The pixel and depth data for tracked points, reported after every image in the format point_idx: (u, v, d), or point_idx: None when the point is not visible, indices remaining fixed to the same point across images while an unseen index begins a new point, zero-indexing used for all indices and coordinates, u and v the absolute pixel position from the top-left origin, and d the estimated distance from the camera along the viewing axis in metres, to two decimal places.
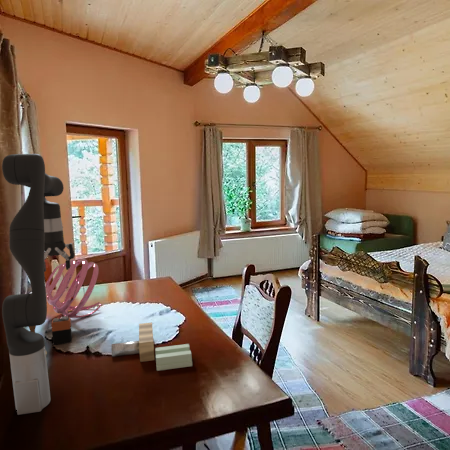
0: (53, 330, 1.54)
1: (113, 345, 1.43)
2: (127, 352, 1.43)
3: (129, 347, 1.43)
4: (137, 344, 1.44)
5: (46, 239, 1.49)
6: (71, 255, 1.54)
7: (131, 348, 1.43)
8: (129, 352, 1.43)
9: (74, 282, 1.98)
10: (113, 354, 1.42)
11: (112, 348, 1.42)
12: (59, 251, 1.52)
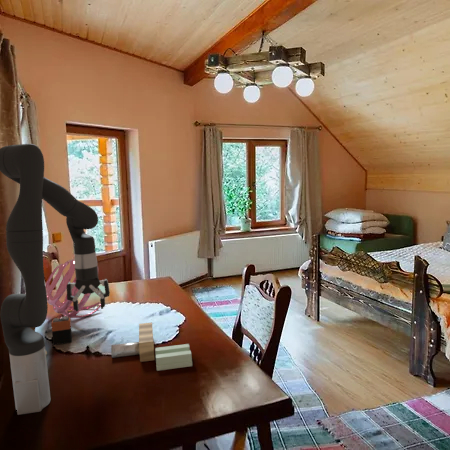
0: (53, 330, 1.54)
1: (113, 348, 1.41)
2: (127, 355, 1.43)
3: (129, 351, 1.42)
4: (137, 347, 1.43)
5: (80, 276, 1.35)
6: (106, 293, 1.40)
7: (131, 352, 1.42)
8: (129, 354, 1.43)
9: (74, 282, 1.98)
10: (113, 356, 1.42)
11: (112, 352, 1.41)
12: (94, 288, 1.38)
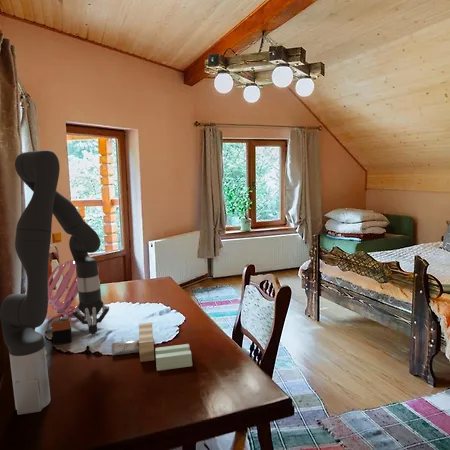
0: (53, 330, 1.54)
1: (113, 343, 1.45)
2: (127, 349, 1.44)
3: (129, 344, 1.44)
4: (137, 341, 1.45)
5: (83, 299, 1.36)
6: (98, 319, 1.40)
7: (131, 345, 1.44)
8: (129, 349, 1.44)
9: (74, 282, 1.98)
10: (113, 351, 1.43)
11: (112, 345, 1.43)
12: (94, 312, 1.39)
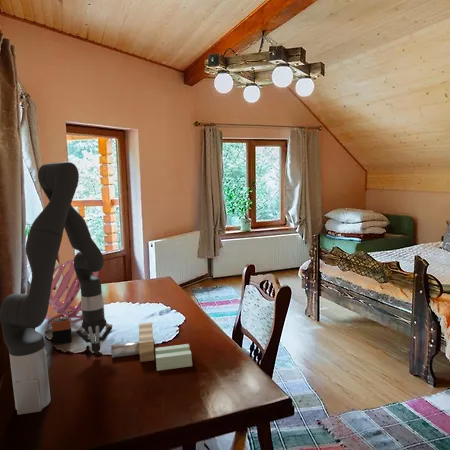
0: (53, 330, 1.54)
1: (113, 348, 1.41)
2: (127, 355, 1.43)
3: (129, 351, 1.42)
4: (137, 347, 1.43)
5: (87, 318, 1.37)
6: (101, 337, 1.41)
7: (131, 352, 1.42)
8: (129, 354, 1.43)
9: (74, 282, 1.98)
10: (113, 356, 1.42)
11: (112, 352, 1.41)
12: (97, 330, 1.40)
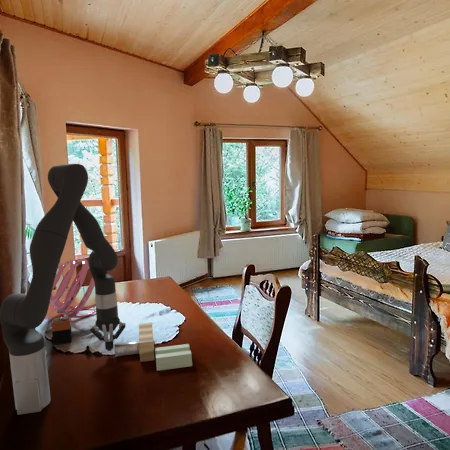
0: (53, 330, 1.54)
1: (116, 347, 1.42)
2: (130, 353, 1.43)
3: (132, 349, 1.42)
4: None
5: (101, 316, 1.38)
6: (115, 335, 1.42)
7: (134, 350, 1.43)
8: (132, 353, 1.43)
9: (74, 282, 1.98)
10: (116, 355, 1.42)
11: (115, 350, 1.41)
12: (111, 328, 1.41)
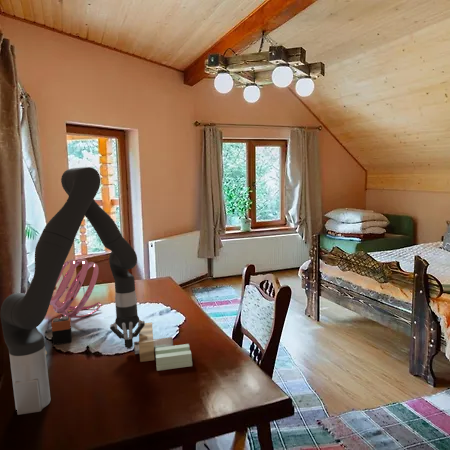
0: (53, 330, 1.54)
1: (136, 344, 1.43)
2: None
3: None
4: (159, 343, 1.45)
5: (121, 314, 1.40)
6: (134, 333, 1.44)
7: None
8: None
9: (74, 282, 1.98)
10: (136, 353, 1.43)
11: (135, 348, 1.43)
12: (131, 326, 1.43)
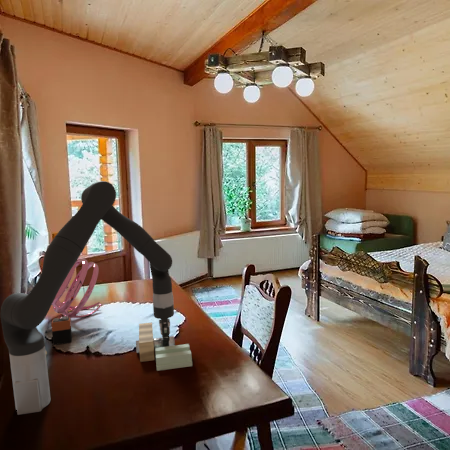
0: (53, 330, 1.54)
1: (137, 342, 1.45)
2: None
3: None
4: (161, 340, 1.46)
5: None
6: (162, 337, 1.42)
7: (155, 344, 1.45)
8: None
9: (74, 282, 1.98)
10: (138, 350, 1.44)
11: (137, 344, 1.44)
12: (160, 327, 1.45)
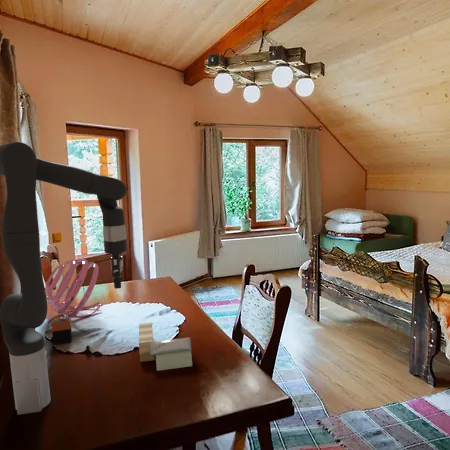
0: (53, 330, 1.54)
1: (151, 343, 1.35)
2: (166, 351, 1.34)
3: (168, 346, 1.35)
4: (176, 342, 1.36)
5: None
6: (112, 273, 1.28)
7: (170, 346, 1.35)
8: (168, 351, 1.35)
9: (74, 282, 1.98)
10: (151, 353, 1.34)
11: (150, 346, 1.34)
12: (111, 264, 1.32)
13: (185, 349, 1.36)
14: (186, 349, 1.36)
